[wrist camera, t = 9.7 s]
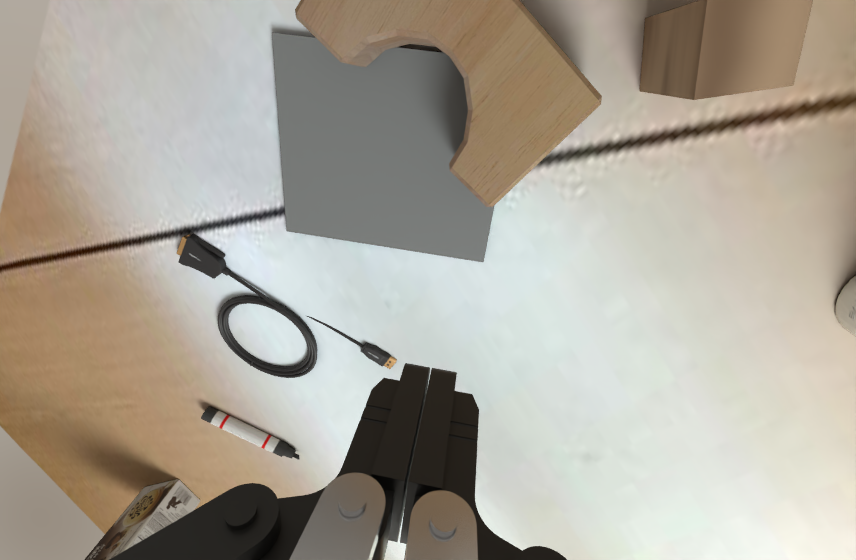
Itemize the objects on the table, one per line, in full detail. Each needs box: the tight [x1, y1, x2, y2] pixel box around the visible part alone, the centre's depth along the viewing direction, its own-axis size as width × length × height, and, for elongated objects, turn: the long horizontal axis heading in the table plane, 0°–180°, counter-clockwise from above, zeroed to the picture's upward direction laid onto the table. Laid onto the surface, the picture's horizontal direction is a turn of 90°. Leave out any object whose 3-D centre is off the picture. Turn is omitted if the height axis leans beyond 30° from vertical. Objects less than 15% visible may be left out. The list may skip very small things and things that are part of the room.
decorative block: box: [295, 0, 602, 207], centre depth 30 cm, size 11×6×20 cm
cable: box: [177, 234, 397, 378], centre depth 50 cm, size 14×28×2 cm, turn 56°
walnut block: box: [640, 0, 813, 100], centre depth 26 cm, size 5×5×10 cm
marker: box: [201, 406, 299, 459], centre depth 59 cm, size 15×2×2 cm, turn 61°
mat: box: [272, 33, 494, 262], centre depth 37 cm, size 21×18×1 cm
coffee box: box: [85, 479, 200, 560], centre depth 64 cm, size 9×6×16 cm
